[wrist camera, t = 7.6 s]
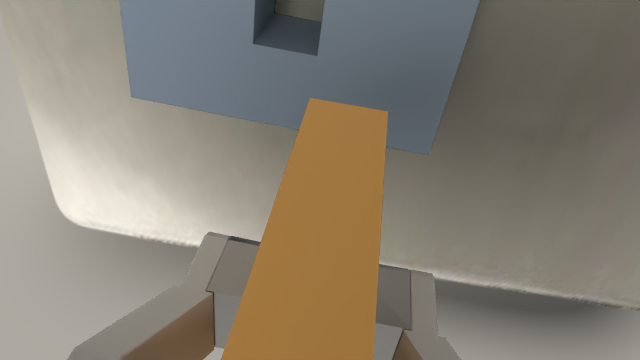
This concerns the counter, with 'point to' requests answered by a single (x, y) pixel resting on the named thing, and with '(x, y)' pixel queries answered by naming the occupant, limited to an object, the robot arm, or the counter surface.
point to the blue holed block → (300, 59)
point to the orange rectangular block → (319, 245)
